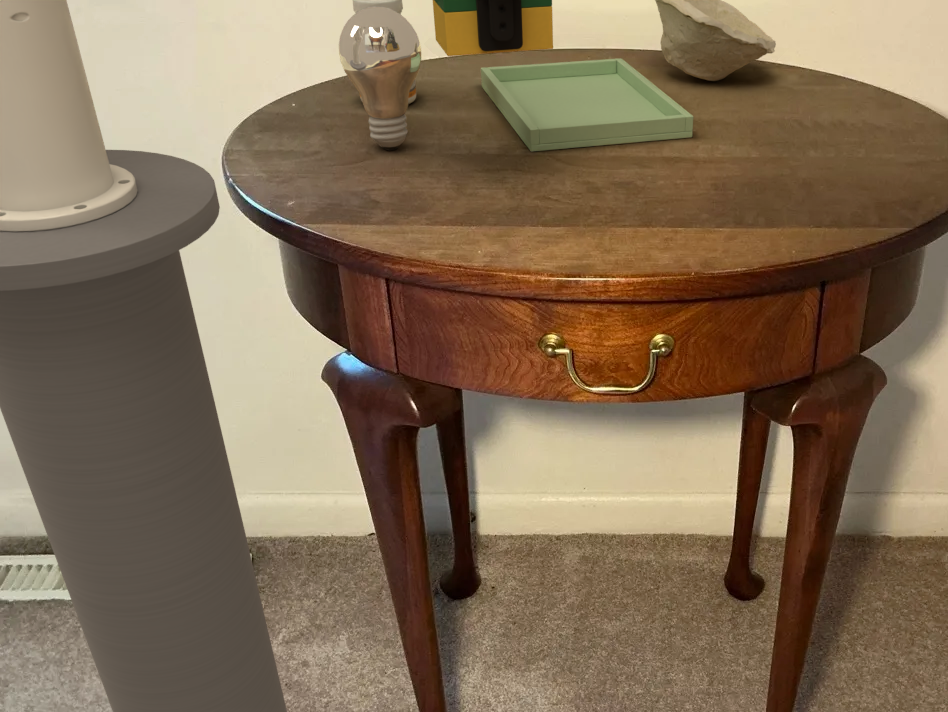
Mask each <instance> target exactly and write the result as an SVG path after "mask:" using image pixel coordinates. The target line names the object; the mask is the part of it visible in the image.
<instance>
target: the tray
mask: <svg viewBox="0 0 948 712" xmlns="http://www.w3.org/2000/svg"><path fill="white" fill-rule="evenodd" d="M480 81H481V89H483V91H485V93H486V94H487V96H488V97H489V99H491V101H492V102H493V103H494V105H495V106H496V108H497V109H498V110H499V112H501V114H502V115H503V117H504V118H505V120H506V121H507V122H508V124H509V125H510V126H511V127H512V129H513V130H514V131H515V133H516V134H517V135H518V137H519V138H520V139H521V141H522V142H523V143H524V144H525V146H526V147H527V148H528V150H529V151H530V152H531V153H532V152H542V151H543V152H544V151H556V150H565V149H566V150H567V149H576V148H577V149H578V148H587V147H589V148H590V147H599V146H610V145H611V146H612V145H620V144H621V145H622V144H632V143H633V144H634V143H643V142H645V143H646V142H655V141H656V142H657V141H666V140H678V139H688V138H689V139H690V138H693V130H694V115H693V114H692V113H690V112H689V111H687V110H686V109H685V108H684V107H683V106H681V104H679V103H677V101H675V100H674V99H673V98H671V97H670V96H669V95H668V94H666V93H665V92H664V91H663V90H661V89H660V88H659V87H658V86H657V85H655V83H653V82H652V81H651V80H649V79H648V78H647V77H646V76H644V75H643V74H641V73H640V72H639V71H638V70H637V69H635V68H634V67H633V66H632V65H631V64H629V62H627V61H625V59H623V58H622V57H621V58H620V57H619V58H607V59H605V58H604V59H591V60H590V59H589V60H576V61H563V62H561V61H560V62H546V63H545V62H544V63H533V64H532V63H531V64H517V65H503V66H502V65H501V66H500V65H499V66H489V67H488V66H485V67H480Z"/></svg>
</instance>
